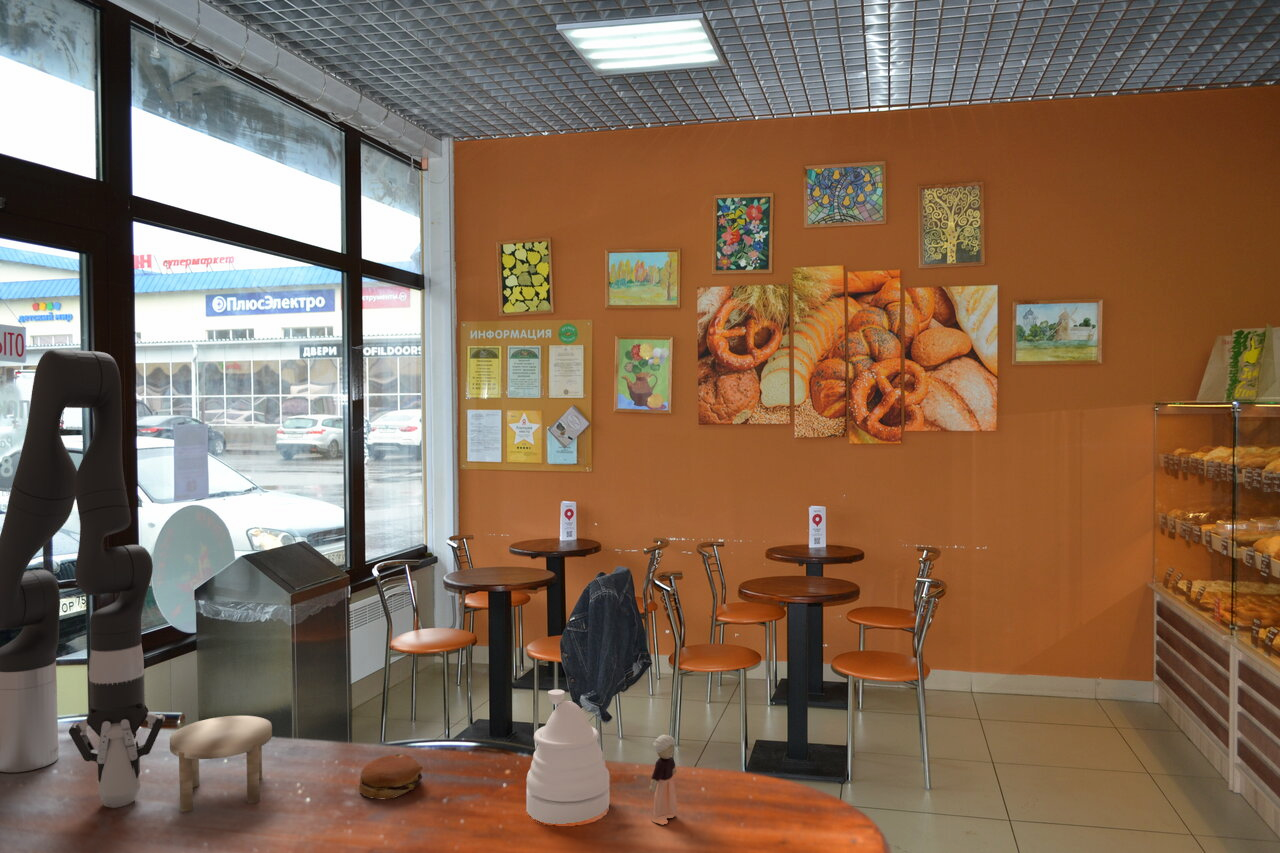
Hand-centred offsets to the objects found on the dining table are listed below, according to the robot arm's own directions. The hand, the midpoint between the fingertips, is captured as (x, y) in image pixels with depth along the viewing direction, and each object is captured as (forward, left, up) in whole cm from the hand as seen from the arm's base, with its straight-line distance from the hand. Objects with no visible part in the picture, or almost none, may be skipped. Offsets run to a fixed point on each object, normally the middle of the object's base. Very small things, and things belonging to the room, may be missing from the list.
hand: (119, 782), depth 152 cm
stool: (+15, -2, -3) cm, 15 cm away
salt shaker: (0, 0, -3) cm, 3 cm away
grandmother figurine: (+79, -33, -3) cm, 86 cm away
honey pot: (+66, -25, -3) cm, 71 cm away
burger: (+41, -8, -4) cm, 42 cm away
